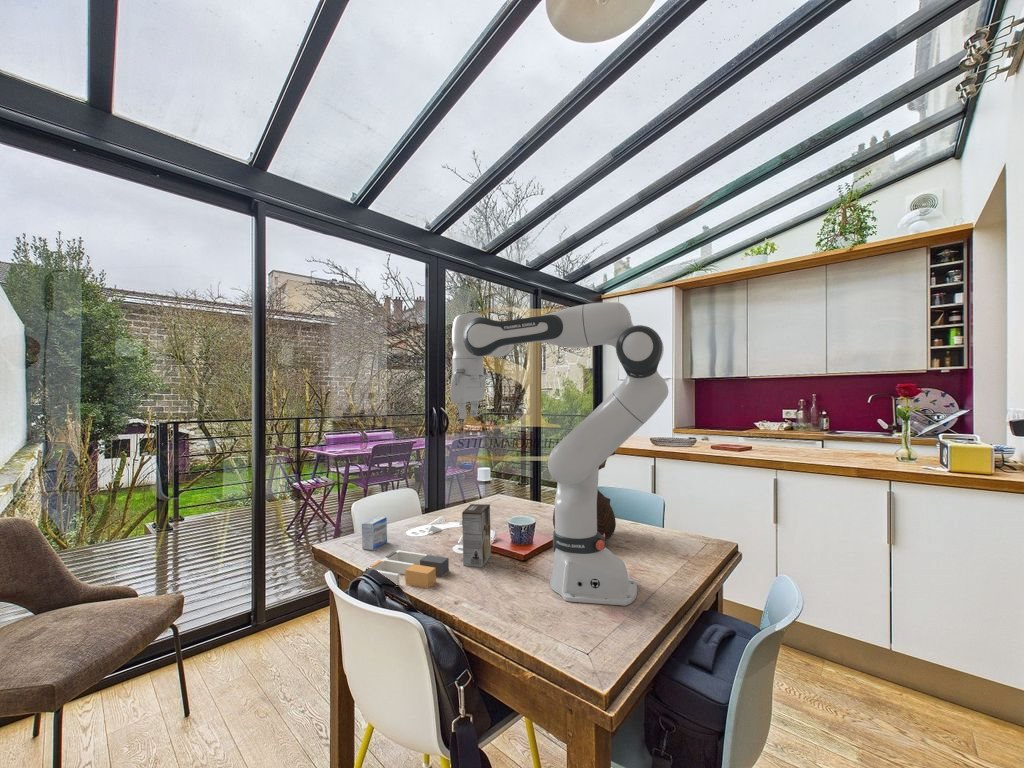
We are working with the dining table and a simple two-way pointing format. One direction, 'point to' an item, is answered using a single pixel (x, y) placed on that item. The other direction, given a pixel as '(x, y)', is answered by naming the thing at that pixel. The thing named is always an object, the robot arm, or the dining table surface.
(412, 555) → the rack
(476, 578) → the dining table surface
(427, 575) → the tan wooden block
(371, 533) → the medicine box
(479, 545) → the coffee box
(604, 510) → the jug
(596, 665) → the dining table surface
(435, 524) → the white flat shape
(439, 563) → the slate gray rubber brick
